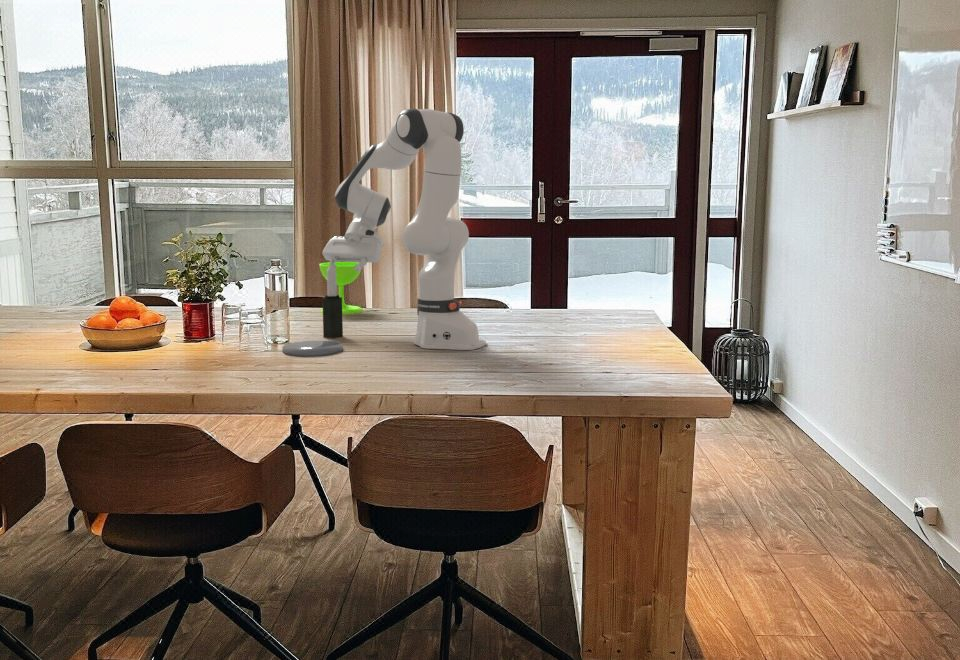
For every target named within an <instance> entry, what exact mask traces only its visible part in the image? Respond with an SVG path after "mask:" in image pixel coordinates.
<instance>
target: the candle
mask: <svg viewBox="0 0 960 660" xmlns="http://www.w3.org/2000/svg"><path fill="white" fill-rule="evenodd" d="M329 262H330V265H329V268H328V269H327V280H326V285H327V287H326V290H327V294H326V295H324V297H322V309H323V313H322V322H323V323H322V330H323V331H322V332H323V334H322V335H323V338H327V339H336V338H342V337H344V334H343V333H344V330H343V324H344V323H343V314H342V297H339V294H337V293H338V292H337V290H338V289H337V288H338V287H337V285H336V270H335V268H334V266H333V263H332V260H330V261H329Z"/></svg>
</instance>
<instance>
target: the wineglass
mask: <svg viewBox="0 0 960 660" xmlns="http://www.w3.org/2000/svg"><path fill="white" fill-rule="evenodd" d="M359 263H360V262H350V261H336V263H335V265H336V268H335V270H336V286H338V295H339V297H342V315H354V314H360V313H362V312H363V311H364V309H363V308H362V307H361V306H357V305H349V304H348V305H347V304H346V302H345V293H344V291H345V290H344V288H345V286H346V285H349V284H352V283H353V282H354V281H355V280H356V279H358V277H359V276H360V274H361V271H362V269H361V270H360V271H355V269H354V267H355V265H356V264H359ZM318 265H319V270H320V273H321V275H322V276H323V278H324V279H325V280H326V281H327V269H328V268H329V265H330V261H329V262H322V263H319V264H318ZM320 313H321V314H323V308H322V309H320Z"/></svg>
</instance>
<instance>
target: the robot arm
mask: <svg viewBox="0 0 960 660" xmlns="http://www.w3.org/2000/svg"><path fill="white" fill-rule="evenodd" d="M464 130H465V129H464V123H463V120H462V119H461V117H460V116H459V115H457V114H454V113H452V112H448V111H447V112H445V111H440V110H435V109H431V108H430V109H429V108H407V109H404V110H402V111H401V112H400V113H399V114H398V116H397V119H396V120H395V121H394V123H393V124H392V126H391V128H390V129H389V131H388V133H387V135H386V137H385V138H384V139H383V141H381V142H380V143H378V144H372V145H370V146H369V147H368V149H366V151H365V152H364V154H363V155H362V156H361V157H360V159H359V160H358V161H357V163H356V164H355V165H354V167H352V170H351V171H350V173H349V174H348V175H347V176H346V177H345V179H344V180H343V181H342V182H341V183H340V184H339V185H338V187H337V188H336V191H335V192H334V193H335V194H334V201H335V203H336V205H337V207H338V208H339V209H342V210H345V211H346V212H350V213H353V216H352V221H351V222H350V223H349V226H348V228H347V229H346V231H345V234H344V236H334V237H332V238H330V239H329V240H328V241H327V243H326V245H325V246H324V247H323V250H322V253H321V254H322V256H323V258H324V259H325V261H329V262H330V260H332V263H333V266H334V268H336V265H335V263H336V262H357V263H359V264H356V265H355V267H354V269H355V271H360V270H361V271H362V268H363V267H365V266H366V265H367V264H368V263H370V264H371V263H373V264H375V263H377V262H378V261H379V260H380V258H381V255H382V253H383V246H384V245H385V244H384V241H383V239H382V237H381V236H380V234H379V233H378V231H376V229H377V228H378V227H379V226H382V225H383V224H384V223H385V222H386V220H387V216H388V214H389V213H390V211H391V208H392V206H391V201H390V199H389V197H388V196H386V195H384V194H382V193H380V192H378V191H376V190H373V189H371V188H370V187H369V188H368V187H367V186H365V185H363V184H361V183H360V181H361V180H362V179H363V177H364V176H365V175H366V173H368V171H370V170H371V169H386V170H390V171H393V170H395V171H396V170H403V169H405V168H408V167H409V166H411V165H412V163H413V162H414V161H415V159H416V157H417V156H418V153H419V151H420V149H421V148H422V149H423V151H424V153H425V162H424V171H423V181H422V187H421V188H422V189H421V194H420V195H421V196H420V199H419V202H418V205H417V207H416V210H415V213H414V215H413V217H412V218H411V220H409V222H408V223H407V224H406V226H405V227H404V228H403V230H402V233H401V242H402V245H403V247H404V249H405V250H406V251H407V252H409V253H410V254H412V255H419V256H427V257H426V262H425V263H424V266H423V267H422V268H421V269H420V270H419V273H418V298H417V306H416V310H417V326H416V327H417V328H416V332H415V337H414V338H415V339H414V340H413V344H414V345H416V346H418V347H420V348H421V349H428V350H429V349H431V350H452V351H455V350H458V351H470V350H477V349H479V348H482V347H484V346H486V344H487V341H486V339H483V338H482V339H481V338H480V335H479V334H480V333H479V328H478V326H477V324H476V322H475V321H473V320H471V318H469V317H468V316H467V315H466V314H464V313H463V312H462V311H461V310H460V309H461V306H462V300H460V301H459V300H457V299H456V298H455V278H456V277H455V276H456V275H455V274H456V269H457V265H458V261H459V257H460V254H461V253H462V250H463V249H464V247H465V246H467V243H468V242H469V241H468V240H469V238H470V236H469V235H470V231H469V228H468V226H467V224H466V223H465V222H464V221H462V220H461V219H459V218H454V217H452V216H451V217H450V216H449V213H450V212H451V209H452V208H453V207H454V206H455V204H457V202H458V200H459V195H460V194H459V192H460V183H461V177H462V175H461V174H462V173H461V172H462V149H461V144H460V142H461V141H462V139H463V136H464ZM361 271H360V272H361Z"/></svg>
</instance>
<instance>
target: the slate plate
mask: <svg viewBox="0 0 960 660" xmlns="http://www.w3.org/2000/svg"><path fill="white" fill-rule="evenodd" d="M281 348H282V349H281V352H282V353H283V354H285V355H288V356H292V355H293V357H325V356H331V355H335V354H339V353H342V352H343V351H344V345H343V343H341V342H337V341H331V340H328V341H327V340H305V341H304V340H303V341H295V342H290V343H288V344H285V345H283V346H282V347H281Z"/></svg>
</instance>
